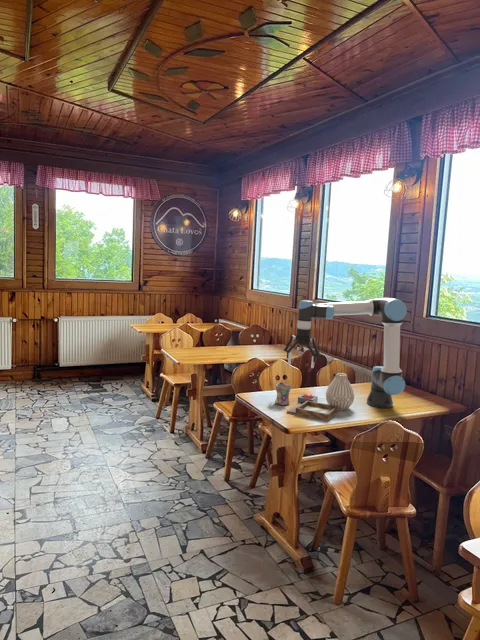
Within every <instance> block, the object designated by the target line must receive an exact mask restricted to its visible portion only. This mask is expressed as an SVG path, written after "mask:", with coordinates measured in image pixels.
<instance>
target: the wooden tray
mask: <svg viewBox="0 0 480 640" xmlns="http://www.w3.org/2000/svg"><path fill="white" fill-rule="evenodd" d="M338 412H339V410H338V406H333V405H329V404H328V403H327V404H326V403H322V402H318V401H317V402H312V401H306V402H304V403H303V404H301V403H298V402H297V404H295V405H293V406H292V407H290V408H289V409H287V410H286V414H290V415H294V414H295V415H294V416H299V417H300V416H301V417H304V418H309V419H314V420H320V421H324V422H329V421H330V420H331V419H333V417H335V416H336V415H337V414H338Z"/></svg>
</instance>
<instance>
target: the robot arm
mask: <svg viewBox="0 0 480 640" xmlns="http://www.w3.org/2000/svg"><path fill="white" fill-rule="evenodd" d="M297 308H298V311H297V312H298V313H297V324H296V325H297V326H296V327H297V328H296V336H295V335H293V334H292V335H290V339H289V341H288V342H287V344H286V346H285V347H284V349H283V351H284V352H286V359H287V365H291V364H292V354H293V353H292V350H294V349H295V348H296V346H298V345H299V346H301V345H302V346H306V347H307V348H308V350H309V352H310V353H311V354H312V355H313V356H311V364H310V369H314V367H315V363H316V362H317V357H319V356H320V355H321V353H320V350H319V347H318V344H317V343H316V338H315V337H314V338H313V337H311V328H312V319H322V320H333V318H334V316H351V315H353V316H354V315H355V316H356V315H369V316H371V317H372V316H376V317H381V318H380V319H381V321H380V322H381V324H382V325H383V366H381V365H380V366H379V365H377V366H373V368H372V372H371V384H370V391H369V393H368V396H367V398H366V404H367V405H369V406H371V407H376V408H382V409H388V408H392V407H394V406H393V405H394V402H393V397H392V396H398V395H400V394H401V393H402V392H403V391H404V390H405V387H406V381H405V380H404V378H403V370H402V369H401V368H400V362H401V361H400V358H401V357H400V354H401V352H400V349H401V326H402V325H403V324H404V317H406V315H407V313H408V311H407V310H408V309H407V306H406V304H405V303H404V301H402V300H401V299H398V298H395V297H394V298H393V297H380V298H371V299H368V300H365V301H363V300H362V301H360V300H359V301H342V302H341V301H340V302H338V301H337V302H320V303H319V302H314V301H313V300H306V299H305V300H304V299H302V300H299V303H298V307H297ZM294 340H296V341H295V342H294V343H293V341H294ZM310 342H311V343H312V345H311V343H310ZM292 343H293V344H292Z"/></svg>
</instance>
